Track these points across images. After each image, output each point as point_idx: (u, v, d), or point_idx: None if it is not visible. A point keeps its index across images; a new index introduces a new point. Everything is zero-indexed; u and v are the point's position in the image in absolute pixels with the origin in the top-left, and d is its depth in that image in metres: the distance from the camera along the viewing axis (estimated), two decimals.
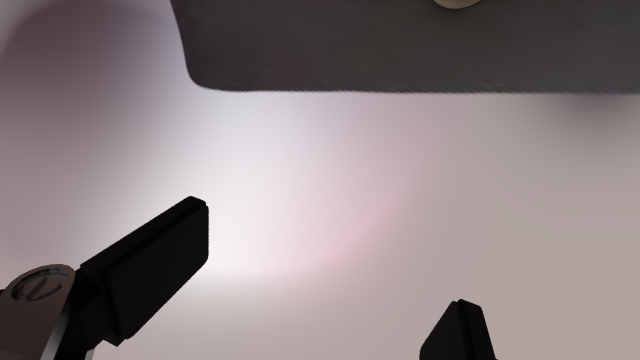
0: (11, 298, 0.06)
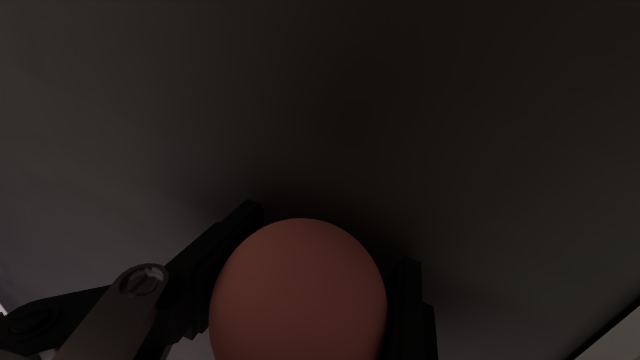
0: (120, 294, 0.06)
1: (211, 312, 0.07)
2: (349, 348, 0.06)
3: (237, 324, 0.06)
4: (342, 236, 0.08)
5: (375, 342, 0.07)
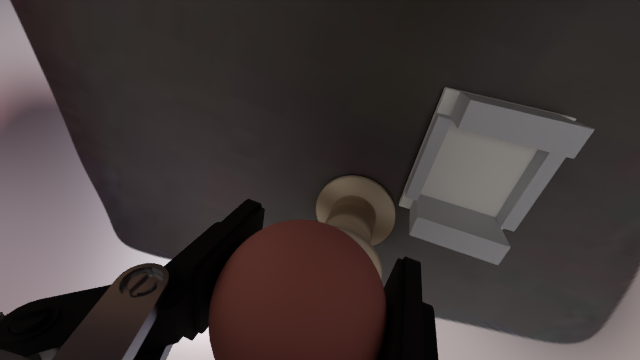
0: (120, 294, 0.06)
1: (211, 313, 0.07)
2: (348, 349, 0.06)
3: (237, 325, 0.06)
4: (341, 238, 0.08)
5: (374, 343, 0.07)
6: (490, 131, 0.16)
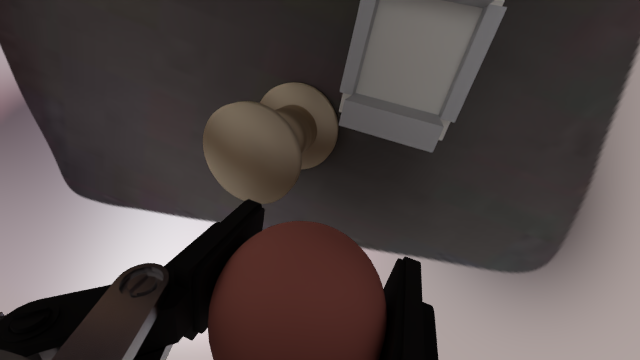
0: (120, 294, 0.06)
1: (210, 315, 0.07)
2: (348, 352, 0.06)
3: (236, 328, 0.06)
4: (341, 239, 0.08)
5: (374, 346, 0.07)
6: None
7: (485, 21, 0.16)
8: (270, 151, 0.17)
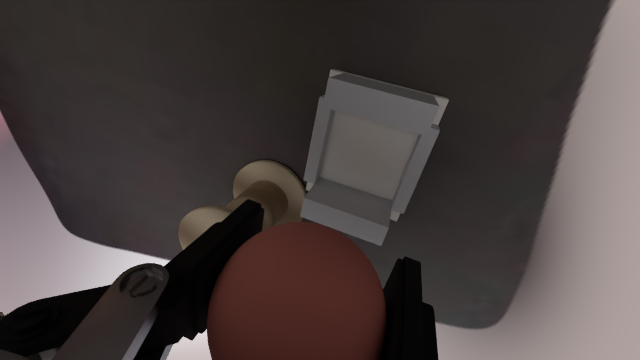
0: (120, 294, 0.06)
1: (209, 317, 0.07)
2: (347, 353, 0.06)
3: (235, 329, 0.06)
4: (340, 240, 0.08)
5: (373, 347, 0.07)
6: (351, 109, 0.16)
7: (423, 139, 0.18)
8: None
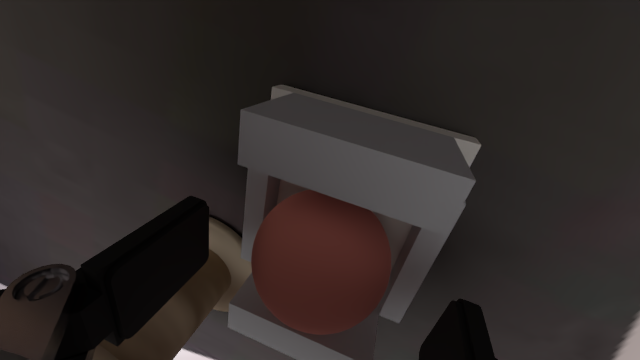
0: (12, 298, 0.06)
1: (256, 255, 0.09)
2: (363, 275, 0.08)
3: (280, 258, 0.08)
4: None
5: (382, 276, 0.09)
6: (290, 173, 0.08)
7: None
8: None
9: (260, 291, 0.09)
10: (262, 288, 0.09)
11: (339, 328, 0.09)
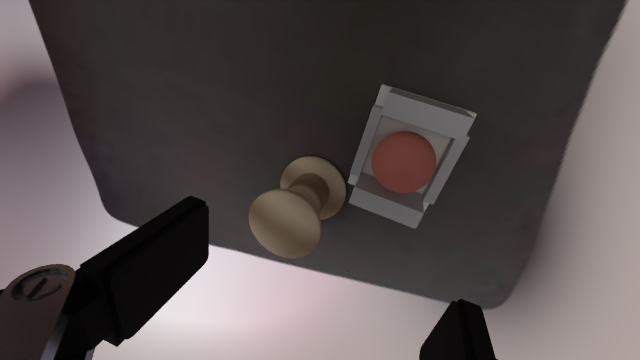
0: (11, 298, 0.06)
1: (381, 154, 0.22)
2: (428, 159, 0.21)
3: (396, 151, 0.21)
4: None
5: (434, 164, 0.22)
6: (404, 117, 0.21)
7: (455, 143, 0.23)
8: (300, 225, 0.24)
9: (383, 168, 0.22)
10: (385, 166, 0.22)
11: (416, 183, 0.22)
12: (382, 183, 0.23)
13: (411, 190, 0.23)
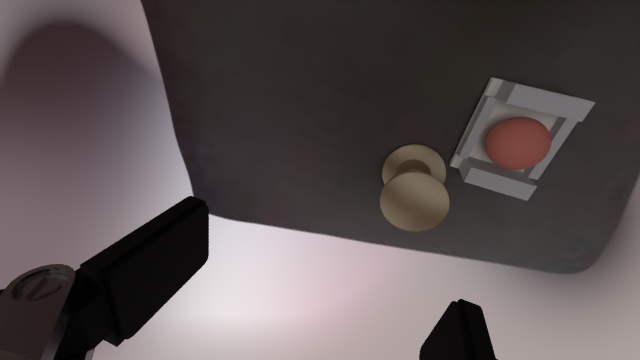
0: (11, 298, 0.06)
1: (503, 137, 0.26)
2: (548, 139, 0.25)
3: (520, 134, 0.25)
4: None
5: (550, 143, 0.26)
6: (527, 104, 0.25)
7: (564, 125, 0.27)
8: (431, 201, 0.28)
9: (506, 149, 0.26)
10: (508, 146, 0.26)
11: (536, 160, 0.26)
12: (501, 162, 0.27)
13: (528, 166, 0.27)
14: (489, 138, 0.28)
